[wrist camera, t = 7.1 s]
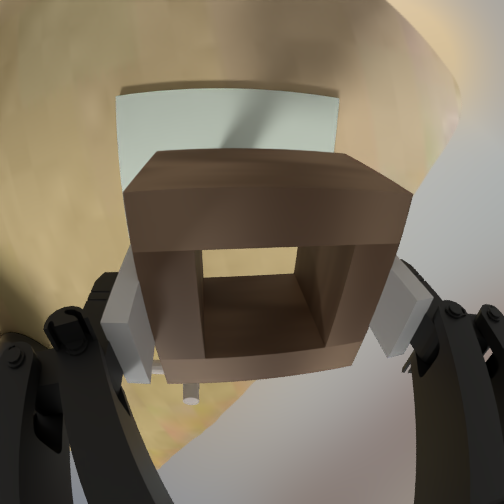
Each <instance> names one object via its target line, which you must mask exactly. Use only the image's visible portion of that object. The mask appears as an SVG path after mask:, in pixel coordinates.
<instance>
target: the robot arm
mask: <svg viewBox="0 0 504 504" xmlns="http://www.w3.org/2000/svg"><path fill="white" fill-rule="evenodd" d="M369 326H370V328H371V330H372V331H373V333H374V335H375V337H376V339H377V340H378V342H379V344H380V346H381V347H382V349H383V351H384V353H385V355H386V356H387V358H390V357H394V356H398V355H402V354H404V352H405V351H406V348H407V347H408V345H409V344H411V345H412V347H413V348H414V351H413V352H412V354H411V355H410V357H409V359H408V360H407V362H406V363H405V365H404V366H403V368H402V372H405V371H406V369H407V368H408V367H409V365H410V364H411V368H410V370H409V371H408V373H412V380H413V390H414V402H415V418H416V483H415V498H414V504H504V316H503V314H502V313H501V312H500V311H499V310H498V309H497V308H496V307H495V306H492V305H487V304H485V305H482V307H481V309H480V310H479V312H478V314H477V315H476V314H467V312H466V310H465V309H464V308H463V307H461V305H459V304H457V303H456V302H453V301H450V300H444V301H442V300H441V298H440V297H439V296H438V295H437V294H436V292H435V291H434V290H433V289H432V288H431V287H430V285H429V284H428V283H427V282H426V281H424V279H423V278H422V276H421V275H419V273H418V272H417V271H416V270H415V269H414V268H413V267H412V266H411V265H410V264H408V263H407V262H405V261H404V260H402V259H399V258H398V257H397V256H395V259H394V262H393V265H392V268H391V270H390V273H389V275H388V278H387V281H386V284H385V287H384V289H383V292H382V295H381V297H380V300H379V302H378V305H377V307H376V310H375V312H374V315H373V317H372V320H371V322H370V324H369ZM43 330H44V332H45V334H46V335H47V337H48V339H49V341H50V342H51V344H52V346H53V347H54V348H53V349H46V348H45V347H44V346H42V345H41V344H39V343H37V342H36V341H34V340H32V339H30V338H28V337H26V336H24V335H21V334H17V333H5V334H3V335H2V336H1V338H0V504H73V497H72V487H71V475H70V474H71V473H70V447H71V451H72V455H73V459H74V462H75V465H76V469H77V472H78V476H79V479H80V482H81V485H82V488H83V491H84V494H85V496H86V499H87V502H88V504H174V503H173V501H172V499H171V498H170V496H169V494H168V492H167V490H166V488H165V487H164V484H163V482H162V481H161V479H160V477H159V475H158V473H157V470H156V468H155V466H154V464H153V462H152V460H151V458H150V456H149V453H148V451H147V449H146V447H145V444H144V442H143V440H142V437H141V435H140V432H139V430H138V427H137V425H136V422H135V420H134V417H133V414H132V412H131V409H130V406H129V403H128V401H127V398H126V395H125V392H124V390H123V388H122V386H121V382H122V376H123V374H124V376H125V378H126V380H127V382H128V383H143V384H150V382H151V373H152V363H153V355H154V347H155V341H154V338H153V334H152V331H151V327H150V324H149V320H148V316H147V312H146V308H145V304H144V300H143V296H142V292H141V287H140V283H139V281H138V277H137V273H136V268H135V263H134V258H133V253H132V248H131V244H130V247H129V249H128V251H127V254H126V256H125V258H124V261H123V263H122V266H121V268H120V270H119V272H105V273H103V274H102V275H101V276H100V277H99V278H98V279H97V280H96V281H95V283H94V286H93V288H92V290H91V293H90V294H89V297H88V301H86V304H85V306H84V308H83V309H81V308H80V307H75V306H69V307H63V308H61V309H59V310H56V311H55V312H54V313H53V314H51V315H50V316H49V317H48V319H47V320H46V322H45V325H44V329H43ZM489 348H491V350H492V352H493V353H492V355H491V356H490V357H489V359H488V360H487V361H486V362H485V360H484V357H483V356H484V354H485V353H486V352H487V350H488V349H489Z"/></svg>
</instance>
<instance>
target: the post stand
mask: <svg viewBox="0 0 504 504" xmlns="http://www.w3.org/2000/svg"><path fill="white" fill-rule="evenodd" d="M338 108H339V98H334V97H328V96H321V95H314V94H306V93H297V92H287V91H276V90H261V89H237V88H203V89H179V90H164V91H153V92H143V93H135V94H127V95H120V96H116V122H117V140H118V154H119V165H120V175H121V184H122V193H123V191H124V190H125V189H126V187H127V186H128V185H129V184H130V182H131V181H132V180H133V179H134V177H135V176H136V175H137V174H138V173H139V171H140V170H141V169H142V168H143V167H144V165H145V164H146V163H147V162H148V161H149V159H150V158H151V157H152V156H153V155H154V154H155V153H156V151H165V150H182V149H209V148H261V149H289V150H306V151H320V152H332V153H334V146H335V137H336V128H337V118H338ZM123 200H124V199H123ZM124 208H125V206H124ZM125 215H126V213H125ZM126 221H127V219H126ZM127 227H128V226H127ZM128 233H129V231H128ZM129 238H130V237H129Z"/></svg>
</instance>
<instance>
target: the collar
mask: <svg viewBox="0 0 504 504" xmlns="http://www.w3.org/2000/svg"><path fill="white" fill-rule="evenodd" d="M412 196H413V194H412V193H411V192H409V191H407V190H406V189H404V188H403V187H401V186H400V185H398V184H397V183H395V182H393V181H392V180H390V179H388V178H387V177H385V176H383V175H382V174H380V173H378V172H377V171H375V170H373V169H372V168H370V167H368V166H366V165H365V164H363V163H361V162H359V161H358V160H356V159H354V158H352V157H350V156H348V155H347V154H342V153H332V152H320V151H306V150H289V149H261V148H209V149H182V150H165V151H156V153H155V154H154V155H153V156H152V157H151V158H150V159H149V161H148V162H147V163H146V164H145V165H144V167H143V168H142V169H141V170H140V171H139V173H138V174H137V175H136V176H135V177H134V179H133V180H132V181H131V182H130V184H129V185H128V186H127V187H126V189H125V190H124V191H123V199H124V206H125V213H126V219H127V226H128V231H129V237H130V243H131V248H132V253H133V258H134V263H135V268H136V273H137V277H138V281H139V283H140V287H141V292H142V296H143V300H144V304H145V308H146V312H147V316H148V320H149V324H150V327H151V331H152V334H153V338H154V341H155V346H156V350H157V353H158V356H159V359H160V362H161V365H162V368H163V372H164V375H165V377H166V380H167V383H168V384H189V383H218V382H234V381H247V380H258V379H267V378H277V377H285V376H293V375H300V374H306V373H313V372H319V371H325V370H331V369H336V368H341V367H346V366H351V365H352V363H353V361H354V359H355V357H356V355H357V352H358V350H359V348H360V346H361V344H362V341H363V339H364V337H365V334H366V333H367V330H368V327H369V324H370V322H371V320H372V317H373V315H374V312H375V310H376V307H377V305H378V302H379V300H380V297H381V295H382V292H383V289H384V287H385V284H386V281H387V278H388V275H389V273H390V270H391V268H392V265H393V262H394V259H395V256H396V253H397V250H398V247H399V244H400V240H401V237H402V234H403V230H404V227H405V223H406V219H407V216H408V212H409V208H410V205H411V201H412ZM272 247H298V250H297V257H296V264H295V270H294V274H276V275H257V276H235V277H211V278H203V262H202V250H215V249H243V248H272Z"/></svg>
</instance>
